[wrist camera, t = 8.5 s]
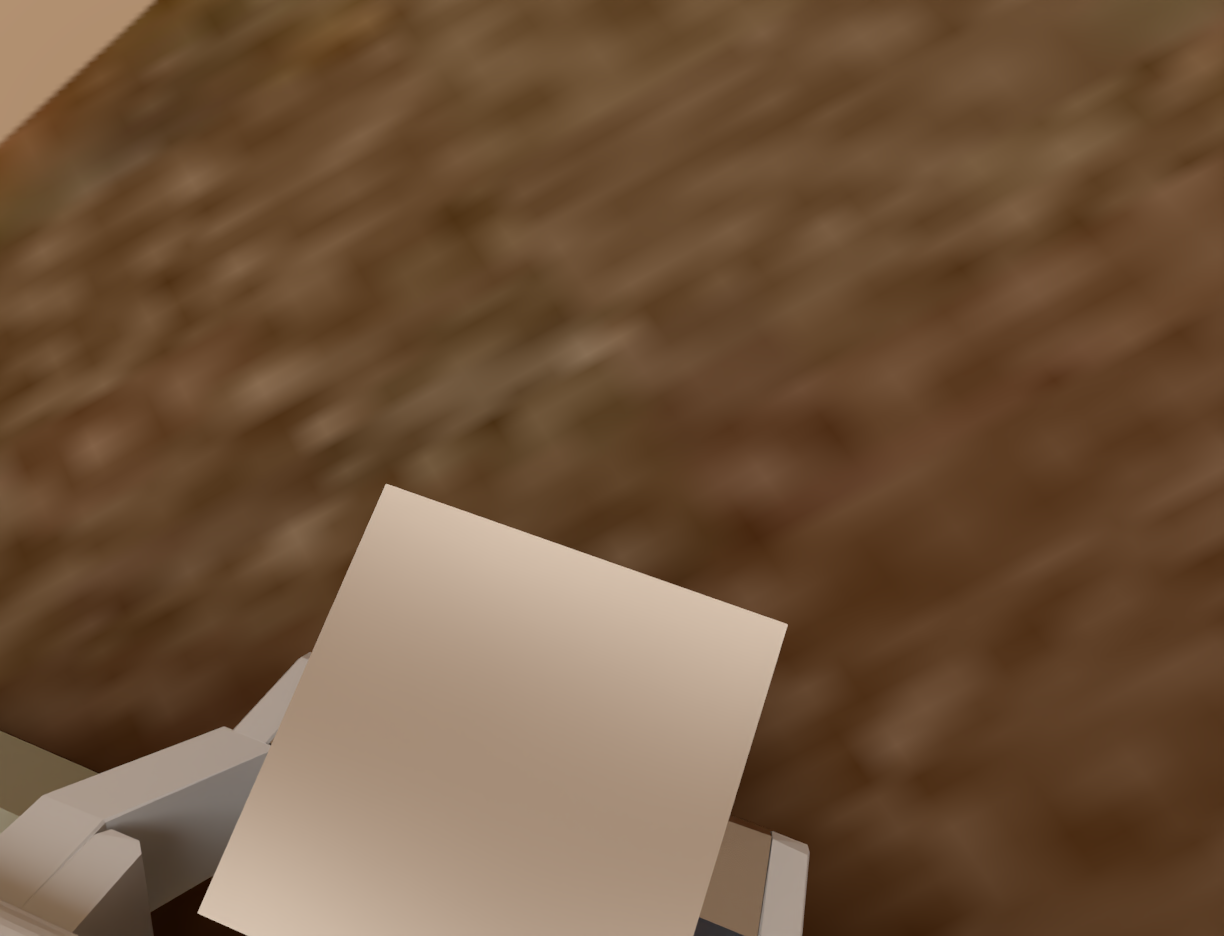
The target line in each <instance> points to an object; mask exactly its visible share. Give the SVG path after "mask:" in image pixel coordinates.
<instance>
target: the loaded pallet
mask: <svg viewBox="0 0 1224 936" xmlns="http://www.w3.org/2000/svg"><path fill="white" fill-rule="evenodd" d="M787 626H788V624H785V623H782V622H780V621H777V620H774V619H771V618H768V617H765V616H762V615H760V614H757V613H754V612H751V611H748V610H745V609H742V608H740V607H737V606H734V605H731V604H728V603H725V602H722V601H720V600H717V599H714V598H711V597H708V596H705V595H702V594H700V593H697V592H694V591H691V590H688V589H685V588H682V587H680V586H677V585H674V584H671V583H668V582H665V581H662V580H660V579H657V578H654V577H651V576H648V575H645V574H642V573H640V572H637V571H634V570H631V569H628V568H625V567H622V566H620V565H617V564H614V563H611V562H608V561H605V560H602V559H600V558H597V557H594V556H591V555H588V554H585V553H582V552H580V551H577V550H574V549H571V548H568V547H565V546H562V545H560V544H557V543H554V542H551V541H548V540H545V539H542V538H540V537H537V536H534V535H531V534H528V533H525V532H522V531H520V530H517V529H514V528H511V527H508V526H505V525H502V524H500V523H497V522H494V521H491V520H488V519H485V518H482V517H480V516H477V515H474V514H471V513H468V512H465V511H462V510H460V509H457V508H454V507H451V506H448V505H445V504H443V503H440V502H437V501H434V500H431V499H428V498H425V497H423V496H420V495H417V494H414V493H411V492H408V491H405V490H403V489H400V488H397V487H394V486H391V485H388V484H386V485H385V487H384V489H383V492H382V494H381V496H380V499H379V501H378V503H377V505H376V508H375V510H374V512H373V514H372V517H371V519H370V521H369V524H368V526H367V528H366V530H365V533H364V535H363V537H362V539H361V542H360V544H359V546H358V549H357V551H356V553H355V555H354V558H353V560H352V562H351V565H350V567H349V569H348V571H347V574H346V576H345V578H344V580H343V583H342V585H341V587H340V590H339V592H338V594H337V596H336V599H335V601H334V603H333V605H332V608H331V610H330V612H329V615H328V617H327V619H326V621H325V624H324V626H323V628H322V630H321V633H320V635H319V637H318V640H317V642H316V644H315V646H314V649H313V651H312V653H311V656H310V658H309V660H308V662H307V665H306V667H305V669H304V671H303V674H302V676H301V678H300V681H299V683H298V685H297V687H296V690H295V692H294V694H293V696H292V699H291V701H290V703H289V706H288V708H287V710H286V712H285V715H284V717H283V719H282V721H281V724H280V726H279V728H278V731H277V733H276V735H275V737H274V740H273V742H272V744H271V746H270V749H269V751H268V753H267V756H266V758H265V760H264V762H263V765H262V767H261V769H260V772H259V774H258V776H257V778H256V781H255V783H254V785H253V787H252V790H251V792H250V794H249V797H248V799H247V801H246V803H245V806H244V808H243V810H242V812H241V815H240V817H239V819H238V822H237V824H236V826H235V828H234V831H233V833H232V835H231V837H230V840H229V842H228V844H227V847H226V849H225V851H224V853H223V856H222V858H221V860H220V863H219V865H218V867H217V869H216V872H215V874H214V876H213V878H212V881H211V883H210V885H209V888H208V890H207V892H206V894H205V897H204V899H203V901H202V903H201V906H200V908H199V910H198V914H200V915H202V916H205V917H207V918H209V919H211V920H213V921H216V922H218V923H220V924H222V925H225V926H227V927H229V928H231V929H234V930H236V931H238V932H240V933H243V934H245V935H247V936H693V935H694V932H695V929H696V925H697V922H698V919H699V916H700V912H701V909H702V906H703V902H704V899H705V896H706V892H707V889H708V886H709V883H710V879H711V876H712V873H713V869H714V866H715V863H716V860H717V856H718V853H719V850H720V846H721V843H722V840H723V836H724V833H725V830H726V827H727V823H728V820H729V817H730V813H731V810H732V807H733V804H734V800H735V797H736V794H737V790H738V787H739V784H740V780H741V777H742V774H743V771H744V767H745V764H746V761H747V757H748V754H749V751H750V748H751V744H752V741H753V738H754V734H755V731H756V728H757V724H758V721H759V718H760V715H761V711H762V708H763V705H764V701H765V698H766V695H767V692H768V688H769V685H770V682H771V678H772V675H773V672H774V668H775V665H776V662H777V659H778V655H779V652H780V649H781V645H782V642H783V639H784V635H785V632H786V629H787Z"/></svg>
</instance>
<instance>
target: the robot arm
mask: <svg viewBox="0 0 1224 936" xmlns="http://www.w3.org/2000/svg"><path fill="white" fill-rule="evenodd" d="M310 656H311V652H309V653H308V654H306V655H304V656H302V657H301V658H299V659H298V660H297V661H296V662H295V663H294V664H293V665H292V666H291V668H290V669H289V670H288V671H287V672H286V673H285V674H284V675H283V676H282V677H281V678H280V679H279V681H278V682H277V683H276V684H275V685H274V686H273V687H272V688H271V689H270V690H269V691H268V692H267V693H266V695H265V696H264V697H263V698H262V699H261V700H260V701H259V702H258V703H257V704H256V705H255V706H254V708H253V709H252V710H251V711H250V712H249V713H248V714H247V715H246V716H245V717H244V718H243V719H242V720H241V722H240V723H239V724H238V725H237V726H236V727H235V728H234V729H230V728H227V727H225V726H223V727H221V728H218V729H215V730H213V731H210V732H207V733H205V734H202V735H200V736H197V737H194V738H192V739H189V740H186V741H184V742H181V743H179V744H176V745H173V746H171V747H168V748H165V749H163V750H160V751H158V752H155V753H152V754H150V755H147V756H144V757H142V758H139V759H137V760H134V761H131V762H129V763H126V764H123V765H121V766H118V767H115V768H113V769H110V770H108V771H105V772H102V773H100V774H97V775H94V776H92V777H89V778H87V779H84V780H81V781H79V782H76V783H73V784H71V785H68V786H66V787H63V788H60V789H58V790H55V791H52V792H50V793H47V794H45V795H43V796H41V797H40V798H39V799H38V800H37V801H36V802H35V803H34V804H33V805H32V806H31V807H29V808H28V809H27V810H26V811H25V812H24V813H23V814H22V815H21V816H20V817H18V818H17V819H16V820H15V821H14V822H13V823H12V824H11V825H10V826H9V827H8V828H6V829H5V830H4V831H3V832H2V833H1V834H0V936H154V934H153V927H152V920H151V914H150V912H152V911H154V910H155V909H157V908H159V907H160V906H162V905H164V904H166V903H167V902H169V901H171V900H172V899H174V898H176V897H177V896H179V895H181V894H183V893H184V892H186V891H188V890H189V889H191V888H193V887H195V886H196V885H198V884H200V883H201V882H203V881H205V880H206V879H208V878H210V877H212V876H213V875H214V874H215V872H216V869H217V867H218V865H219V863H220V860H221V858H222V856H223V853H224V851H225V849H226V847H227V844H228V842H229V840H230V837H231V835H232V833H233V831H234V828H235V826H236V824H237V822H238V819H239V817H240V815H241V812H242V810H243V808H244V806H245V803H246V801H247V799H248V797H249V794H250V792H251V790H252V787H253V785H254V783H255V781H256V778H257V776H258V774H259V772H260V769H261V767H262V765H263V762H264V760H265V758H266V756H267V753H268V751H269V749H270V746H271V744H272V742H273V740H274V737H275V735H276V733H277V731H278V728H279V726H280V724H281V721H282V719H283V717H284V715H285V712H286V710H287V708H288V706H289V703H290V701H291V699H292V696H293V694H294V692H295V690H296V687H297V685H298V683H299V681H300V678H301V676H302V674H303V671H304V669H305V667H306V665H307V662H308V660H309V658H310ZM809 854H810V852H809V849H808V845H807V844H804V843H802V842H799V841H797V840H794V839H791V838H789V837H786V836H784V835H781V834H778V833H776V832H773V831H771V832H770V829H768V828H765V827H762V826H759V825H757V824H754V823H751V822H749V821H746V820H743V819H741V818H738V817H735V816H732V815H730V817H729V820H728V823H727V827H726V830H725V833H724V836H723V840H722V843H721V846H720V850H719V853H718V856H717V860H716V863H715V866H714V869H713V873H712V876H711V879H710V883H709V886H708V889H707V892H706V896H705V899H704V902H703V906H702V909H701V912H700V916H699V919H698V922H697V925H696V929H695V932H694V935H693V936H802V932H803V921H804V909H805V898H806V887H807V876H808V865H809Z"/></svg>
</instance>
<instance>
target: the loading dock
mask: <svg viewBox="0 0 1224 936" xmlns="http://www.w3.org/2000/svg"><path fill="white" fill-rule="evenodd" d="M97 774H99V773H97V772H94V771H92V770H90V769H87V768H85V767H83V766H81V765H78V764H76V763H74V762H71V761H69V760H67V759H64V758H62V757H60V756H57V755H55V754H53V753H50V752H48V751H46V750H44V749H41V748H39V747H37V746H34V745H32V744H30V743H27V742H25V741H23V740H20V739H18V738H16V737H13V736H11V735H9V734H7V733H4V732H2V731H0V834H1V833H2V832H3V831H4V830H5V829H6V828H8V827H9V826H10V825H11V824H12V823H13V822H14V821H15V820H16V819H17V818H18V817H20V816H21V815H22V814H23V813H24V812H25V811H26V810H27V809H28V808H29V807H31V806H32V805H33V804H34V803H35V802H36V801H37V800H38V799H39V798H40V797H41V796H43V795H45V794H47V793H50V792H52V791H55V790H58V789H60V788H63V787H66V786H68V785H71V784H73V783H76V782H79V781H81V780H84V779H87V778H89V777H92V776H94V775H97Z"/></svg>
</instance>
